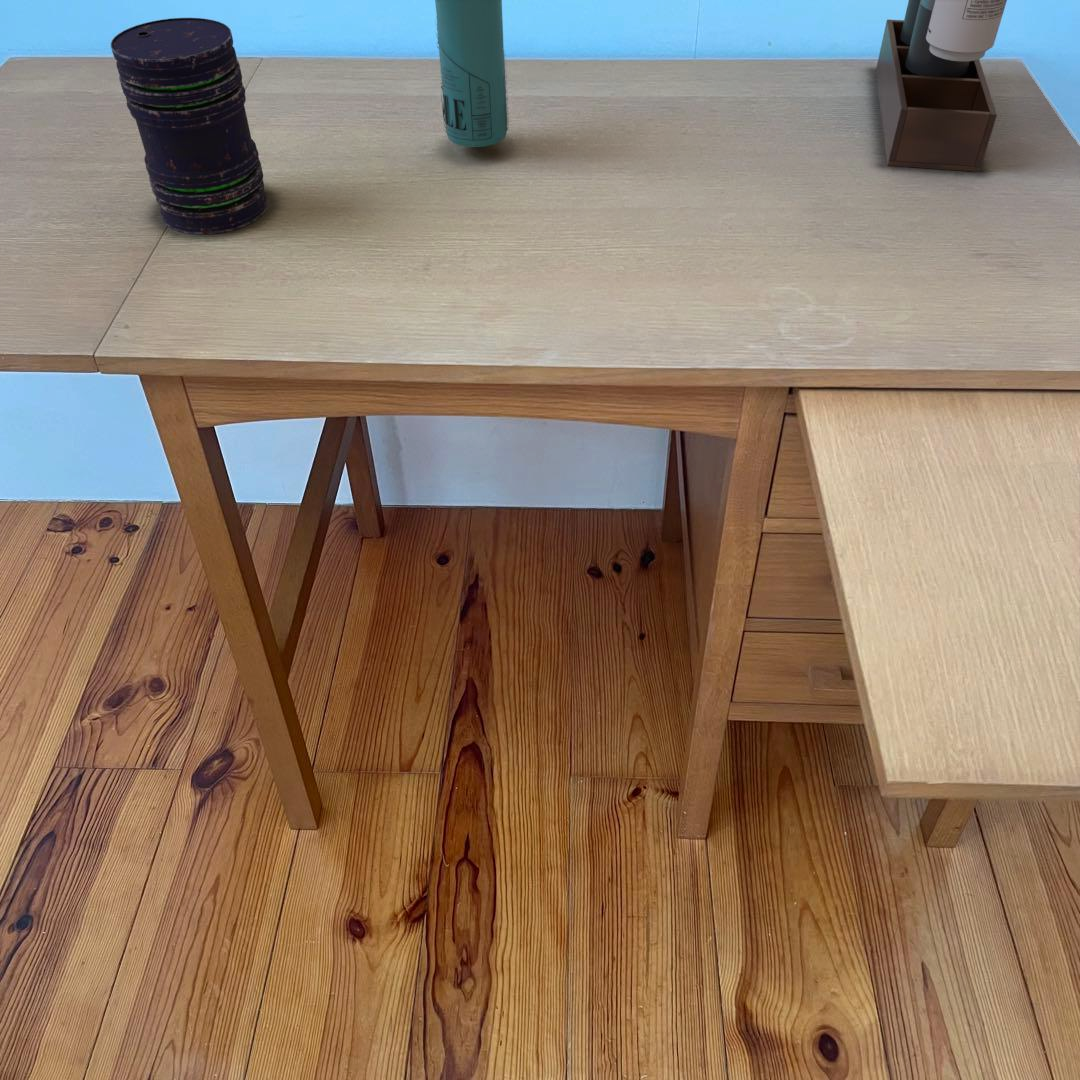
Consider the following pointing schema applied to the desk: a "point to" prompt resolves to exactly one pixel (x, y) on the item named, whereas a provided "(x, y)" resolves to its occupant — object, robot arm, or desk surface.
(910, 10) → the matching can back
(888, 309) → the desk surface
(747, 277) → the desk surface
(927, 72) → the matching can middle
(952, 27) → the energy drink can
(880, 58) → the can rack
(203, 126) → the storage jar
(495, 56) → the beverage bottle
